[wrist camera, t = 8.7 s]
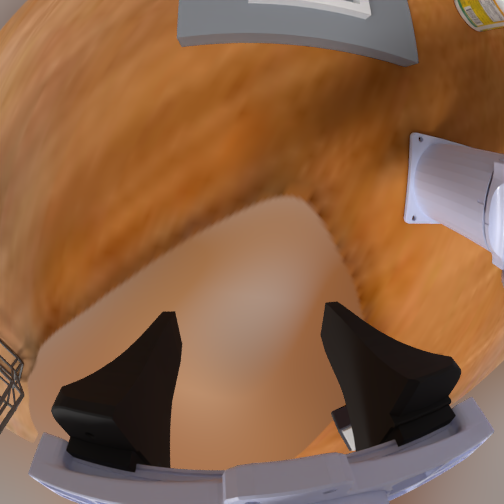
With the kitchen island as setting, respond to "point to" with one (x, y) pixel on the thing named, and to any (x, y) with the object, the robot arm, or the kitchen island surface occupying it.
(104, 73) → the kitchen island surface
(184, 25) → the display plinth
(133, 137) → the kitchen island surface
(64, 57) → the kitchen island surface
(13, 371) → the geometric lantern
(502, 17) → the supplement bottle
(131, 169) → the kitchen island surface
